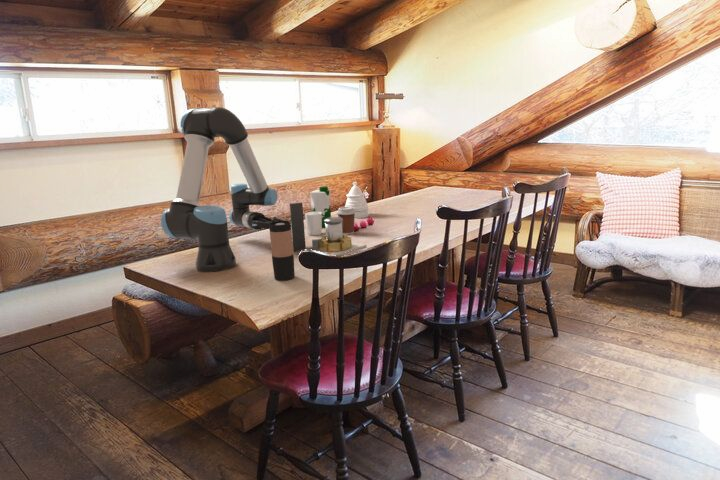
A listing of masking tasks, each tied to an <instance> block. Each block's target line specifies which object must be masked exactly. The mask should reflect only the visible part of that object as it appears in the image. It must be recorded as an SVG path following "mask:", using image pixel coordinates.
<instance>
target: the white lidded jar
mask: <svg viewBox="0 0 720 480" xmlns="http://www.w3.org/2000/svg"><path fill="white" fill-rule="evenodd" d="M342 221H343V220H342V218H340V217H338V216H331V217H330V218H326V219H324V222H325V228H324V229H325V235H326V240H328V243H336V242H341V239H343V233H342Z"/></svg>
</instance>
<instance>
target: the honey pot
mask: <svg viewBox="0 0 720 480" xmlns="http://www.w3.org/2000/svg"><path fill="white" fill-rule="evenodd" d="M352 185H353V186H352V187H351V189H350V190H349V192H348V193H346V195H345V196H346V198H347V199H346V201H345V205H344V207H353V208H354V210H355V211H356V213H355V216H354V219H362V218H368V216H369V205H368V202H367V199H366V196H365V193H364V192H363V191H362V190H361V188H360V187H359V186H358V182H357V181H354V182H352Z"/></svg>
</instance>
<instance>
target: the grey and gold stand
mask: <svg viewBox="0 0 720 480" xmlns="http://www.w3.org/2000/svg"><path fill="white" fill-rule="evenodd" d="M303 207H304V206H303V202H301V201H300V202H293V203H292V202H291V203H289V213H290V215H289V216H290V223H291V231H292V242H293V253H297V252H298V253H299V252H300V251H301V250H304V249H312V250H318V249H319V250H323V251H340V250H342V251H343V250H346V249H349V248H351V247H352V243H351V242H352V237H351V236H349V234H343V239H341V242H336V243H328V240H326V234H323V235H321V238H317V239H311V246H306V233H305V232H306V231H305V220H304V219H305V218H304V208H303Z"/></svg>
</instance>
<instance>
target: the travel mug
mask: <svg viewBox="0 0 720 480" xmlns="http://www.w3.org/2000/svg"><path fill="white" fill-rule="evenodd" d="M268 230H269V239H270V249H271V260H272V261H271V262H272V269H273V277H274V280H275V281H280V282H285V281H286V282H287V281H290V280H293V279H294V278H295V277H296V275H295V273H296V272H295V255H294V254H295V252H294V251H293V240H292V228H291V222H290V221H289V220H283V221H275V222H271V223H269V229H268Z"/></svg>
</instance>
